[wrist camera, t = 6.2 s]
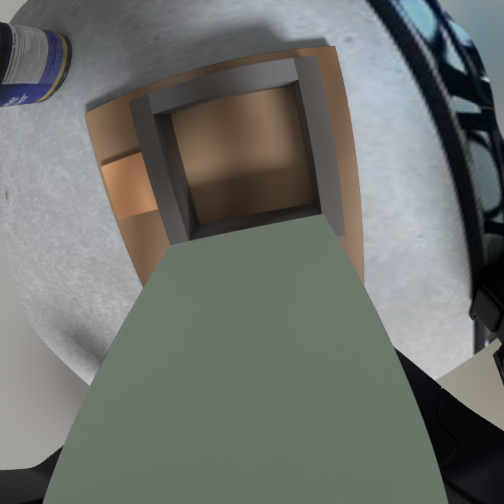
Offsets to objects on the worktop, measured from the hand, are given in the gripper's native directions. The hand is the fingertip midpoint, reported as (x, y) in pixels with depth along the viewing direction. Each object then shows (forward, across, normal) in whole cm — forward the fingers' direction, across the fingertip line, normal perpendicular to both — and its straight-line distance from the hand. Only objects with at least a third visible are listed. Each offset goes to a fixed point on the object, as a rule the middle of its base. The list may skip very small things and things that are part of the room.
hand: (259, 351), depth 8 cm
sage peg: (+3, 0, 0) cm, 3 cm away
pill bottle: (+13, +14, -16) cm, 25 cm away
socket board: (+12, +2, +2) cm, 13 cm away
